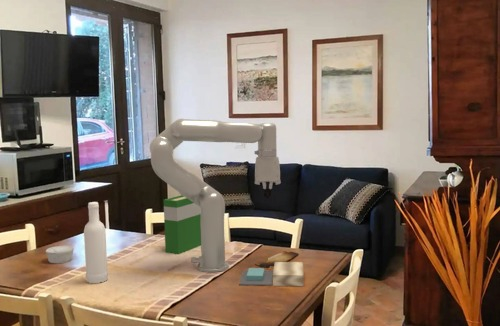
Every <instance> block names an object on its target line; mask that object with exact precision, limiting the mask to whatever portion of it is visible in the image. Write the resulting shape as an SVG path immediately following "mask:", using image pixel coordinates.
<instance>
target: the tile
mask: <svg viewBox="0 0 500 326" xmlns="http://www.w3.org/2000/svg"><path fill="white" fill-rule="evenodd" d="M247 270H248V273H247V281H263V278H264V273H265V272H264V271H265V267H249V268H248V269H247Z"/></svg>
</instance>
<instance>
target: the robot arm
mask: <svg viewBox="0 0 500 326" xmlns="http://www.w3.org/2000/svg"><path fill="white" fill-rule="evenodd" d="M183 142H205V143H207V142H208V143H237V144H239V143H242V144H254V143H257V150H254V155H257V156H256V157H255V163H254V165H255V166H254V184H255V185H259V186H261V188H262V189H263V197H265V199H266V200H267V199H269V200H270V199H271V197H272V196H273V195H272V194H273V193H272V189H273V188H274V187H275V186H276V185H280V184H281V183H282V182H281V169H280V168H281V167H280V166H281V165H280V161H279V160H280V159H279V156H278V155H277V125H276V124H275V123H273V122H272V123H271V122H269V123H267V122H266V123H265V122H264V123H250V122H246V123H237V122H227V121H221V120H215V119H214V120H213V119H212V120H210V119H208V120H207V119H189V118H188V119H187V118H186V119H185V118H178V119H176V120H174V122H172V123H170V125H169V126H167V127H166V129H164V130H163V131H162V132H160V133H159V134H158V135H157V136H156V137H154V139H152V140H151V142H150V144H149V152H150V164H151V167H152V170H153V171H154V173H155V174H156V176H157V177H159V179H161V180H162V181H164V182H165V183H166V184H167V185H169V186H170V187H171V188H173V189H174V190H176V192H178V193H179V194H180V196H181V195H182V196H184V197H186V198H188V199H189V200H191V201H192V202H194V203H195V204H196V205H198V206H199V207H200V208H201V219H200V227H201V246H200V250H201V251H200V252H201V256H198V257H196V256H192V257H190V262H192V264H197V269H198V270H199V271H201V272H205V273H206V272H207V273H218V272H223V271H226V270H228V269H229V268H230V264H229V262H227V261H226V247H225V246H226V244H225V243H226V242H225V240H226V239H225V212H226V202H225V199H224V197H223V195H222V194H221V193H220V192H219V191H218V190H216V189H215V188H214V187H212V186H211V185H209V184H208V183H207V182H205V181H203V180H202V179H201V178H200V177H199V176H198V175H196V174H194V173H192V172H189V171H187V170H186V169H185V168H184V167H182V166H181V165H180V164H178V163H177V162H176V161H175V159H174V158H173V154H174V150H175V149H177V147H179V146H180V145H181V144H182V143H183ZM267 183H269V184H268V186H267Z"/></svg>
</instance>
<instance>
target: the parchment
mask: <svg viewBox="0 0 500 326" xmlns="http://www.w3.org/2000/svg"><path fill="white" fill-rule="evenodd" d="M298 255H299V253H298V252H294V251H289V252H288V251H285V250H283V252H280V253H276V254H274V255H272V256H269V257H268V258H267V259H268V261H269V262H268V261H267V262H265V261H263V262H261V263H259V264H256V263H254V265H255V266H258V267H261V268H266V269H269V268H271V267H274V263H275V262H288V261H290V260H292V259H293V258H294V257H296V256H298ZM270 266H271V267H270Z"/></svg>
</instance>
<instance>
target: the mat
mask: <svg viewBox="0 0 500 326" xmlns="http://www.w3.org/2000/svg"><path fill="white" fill-rule="evenodd" d="M248 270H249V269H246V270H245V269H243V270H242V273H241V276H240V279H239V282H238V286H250V285H268V287H269V286H270V287H271V286H273V270H264V272H265V273H264V278H263V281H247V273H248Z"/></svg>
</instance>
